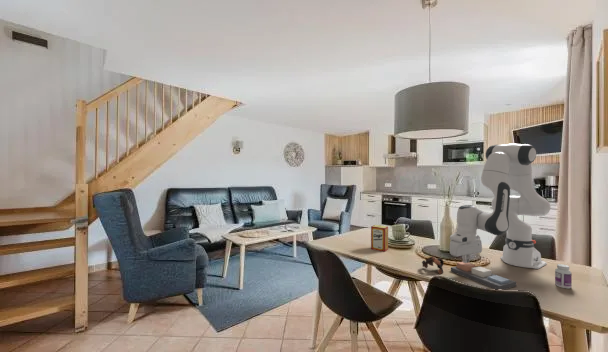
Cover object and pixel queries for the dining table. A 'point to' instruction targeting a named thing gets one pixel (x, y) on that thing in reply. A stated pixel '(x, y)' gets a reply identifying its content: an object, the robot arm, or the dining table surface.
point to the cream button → (481, 271)
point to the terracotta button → (465, 266)
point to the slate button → (498, 279)
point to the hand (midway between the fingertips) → (466, 262)
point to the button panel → (483, 279)
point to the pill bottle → (563, 276)
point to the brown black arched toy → (438, 262)
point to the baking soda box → (379, 238)
